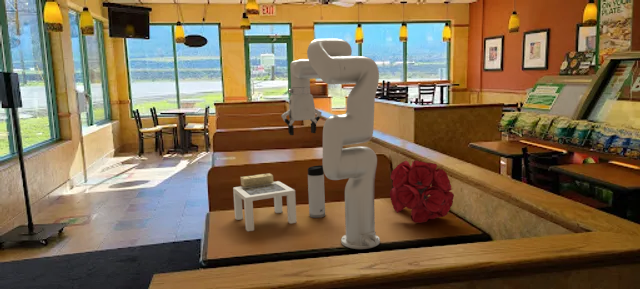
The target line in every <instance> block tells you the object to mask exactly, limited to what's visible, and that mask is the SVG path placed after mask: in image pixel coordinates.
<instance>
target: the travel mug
mask: <svg viewBox="0 0 640 289" xmlns="http://www.w3.org/2000/svg"><path fill="white" fill-rule="evenodd" d="M307 185H308V186H307V188H308V189H307V191H308V192H307V193H308V212H309V214H308V215H309V217H310V218H313V219H319V218H323V217H325V216H326V201H325V200H326V199H325V194H326V193H325V174H324V171H323V164H319V165H313V166H310V167H308V168H307Z"/></svg>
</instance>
